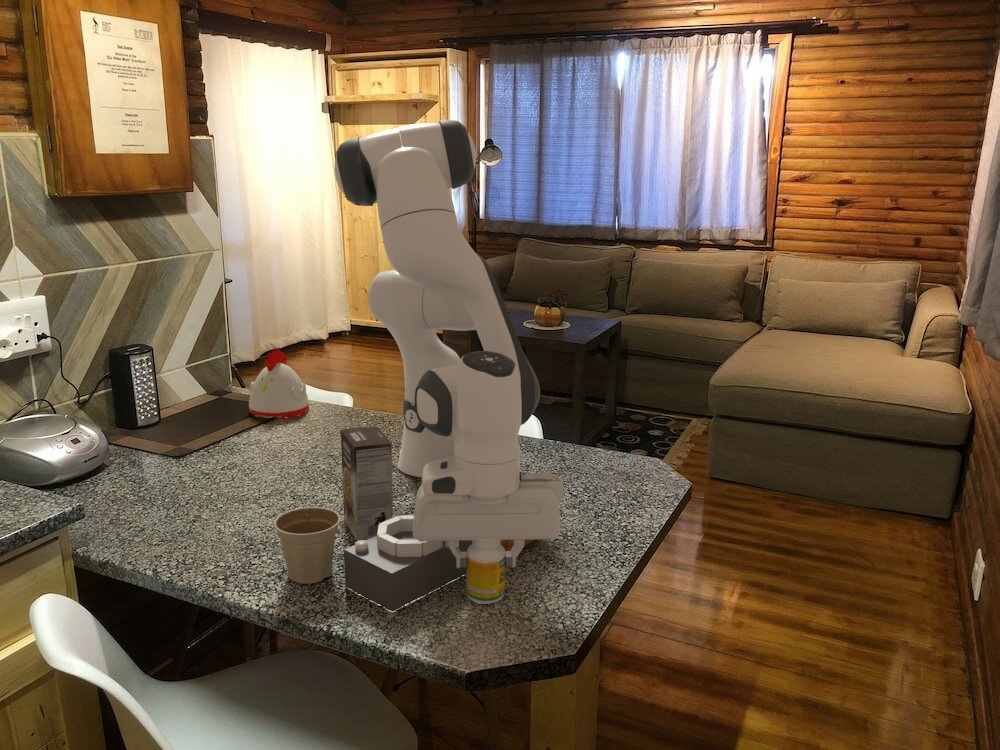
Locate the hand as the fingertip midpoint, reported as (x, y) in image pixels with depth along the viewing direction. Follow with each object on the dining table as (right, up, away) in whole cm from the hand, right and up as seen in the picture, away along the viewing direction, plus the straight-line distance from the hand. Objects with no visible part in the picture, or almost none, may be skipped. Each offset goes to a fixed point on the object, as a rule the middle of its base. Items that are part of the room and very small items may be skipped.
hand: (485, 566), depth 113 cm
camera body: (-11, -3, +5) cm, 13 cm away
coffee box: (-20, +1, +22) cm, 30 cm away
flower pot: (-26, -3, +6) cm, 27 cm away
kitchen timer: (-51, +18, +83) cm, 99 cm away
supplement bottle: (0, -5, +1) cm, 5 cm away
